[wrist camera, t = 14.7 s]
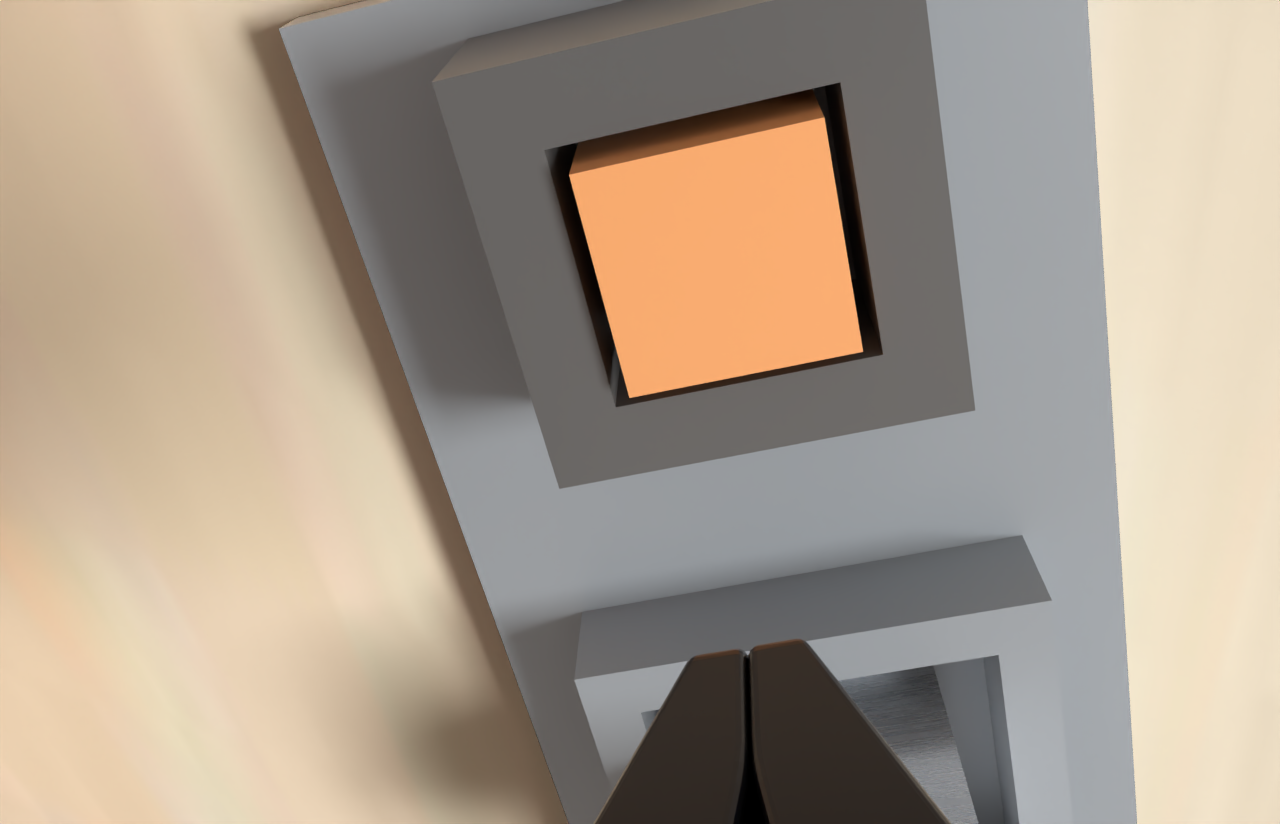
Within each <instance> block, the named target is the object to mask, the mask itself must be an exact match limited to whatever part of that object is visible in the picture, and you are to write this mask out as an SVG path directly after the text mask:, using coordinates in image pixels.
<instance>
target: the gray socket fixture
mask: <svg viewBox="0 0 1280 824" xmlns="http://www.w3.org/2000/svg"><path fill="white" fill-rule="evenodd" d="M279 31H280V34H281V36H282V39H283V42H284V45H285V47H286V50H287V53H288V56H289V58H290V61H291V64H292V67H293V69H294V72H295V75H296V78H297V80H298V83H299V86H300V89H301V91H302V94H303V97H304V99H305V102H306V105H307V108H308V110H309V113H310V116H311V119H312V121H313V124H314V127H315V130H316V132H317V135H318V138H319V141H320V143H321V146H322V149H323V152H324V154H325V157H326V160H327V162H328V165H329V168H330V171H331V173H332V176H333V179H334V182H335V184H336V187H337V190H338V193H339V195H340V198H341V201H342V204H343V206H344V209H345V212H346V215H347V217H348V220H349V223H350V225H351V228H352V231H353V234H354V236H355V239H356V242H357V245H358V247H359V250H360V253H361V256H362V258H363V261H364V264H365V267H366V269H367V272H368V275H369V278H370V280H371V283H372V286H373V289H374V291H375V294H376V297H377V299H378V302H379V305H380V308H381V310H382V313H383V316H384V319H385V321H386V324H387V327H388V330H389V332H390V335H391V338H392V341H393V343H394V346H395V349H396V352H397V354H398V357H399V360H400V362H401V365H402V368H403V371H404V373H405V376H406V379H407V382H408V384H409V387H410V390H411V393H412V395H413V398H414V401H415V404H416V406H417V409H418V412H419V415H420V417H421V420H422V423H423V425H424V428H425V431H426V434H427V436H428V439H429V442H430V445H431V447H432V450H433V453H434V456H435V458H436V461H437V464H438V467H439V469H440V472H441V475H442V478H443V480H444V483H445V486H446V488H447V491H448V494H449V497H450V499H451V502H452V505H453V508H454V510H455V513H456V516H457V519H458V521H459V524H460V527H461V530H462V532H463V535H464V538H465V541H466V543H467V546H468V549H469V551H470V554H471V557H472V560H473V562H474V565H475V568H476V571H477V573H478V576H479V579H480V582H481V584H482V587H483V590H484V593H485V595H486V598H487V601H488V604H489V606H490V609H491V612H492V614H493V617H494V620H495V623H496V625H497V628H498V631H499V634H500V636H501V639H502V642H503V645H504V647H505V650H506V653H507V656H508V658H509V661H510V664H511V667H512V669H513V672H514V675H515V677H516V680H517V683H518V686H519V688H520V691H521V694H522V697H523V699H524V702H525V705H526V708H527V710H528V713H529V716H530V719H531V721H532V724H533V727H534V730H535V732H536V735H537V738H538V740H539V743H540V746H541V749H542V751H543V754H544V757H545V760H546V762H547V765H548V768H549V771H550V773H551V776H552V779H553V782H554V784H555V787H556V790H557V793H558V795H559V798H560V801H561V803H562V806H563V809H564V812H565V814H566V817H567V820H568V823H569V824H593V823H594V821H595V820H596V818H597V816H598V815H599V813H600V811H601V809H602V808H603V806H604V804H605V803H606V801H607V799H608V797H609V796H610V794H611V792H612V790H613V789H614V787H615V785H616V784H617V782H618V780H619V778H620V777H621V775H622V773H623V771H624V770H625V768H626V766H627V765H628V763H629V761H630V759H631V758H632V756H633V754H634V752H635V751H636V749H637V747H638V746H639V744H640V742H641V740H642V739H643V737H644V735H645V733H646V732H647V730H648V728H649V727H650V725H651V723H652V721H653V720H654V718H655V716H656V715H657V713H658V711H659V709H660V708H661V706H662V704H663V702H664V701H665V699H666V697H667V696H668V694H669V692H670V690H671V689H672V687H673V685H674V683H675V682H676V680H677V678H678V677H679V675H680V673H681V671H682V670H683V668H684V666H685V664H686V663H687V661H688V660H690V659H691V658H692V657H693V656H696V655H700V654H706V653H712V652H718V651H724V650H730V649H742V650H744V651H745V652H746V653H747V655H749V652H750V650H751V649H752V648H753V647H754V646H756V645H760V644H766V643H772V642H778V641H785V640H791V639H802V640H804V641H806V642H807V643H808V644H809V645H810V646H811V647H812V648H813V650H814V651H815V652H816V654H817V655H818V656H819V657H820V659H821V660H822V661H823V662H824V664H825V665H826V666H827V667H828V669H829V670H830V671H831V672H832V674H833V675H834V676H835V677H836V679H837V680H838V681H839V680H845V679H852V678H858V677H864V676H870V675H876V674H883V673H889V672H895V671H901V670H908V669H914V668H920V667H926V666H932V665H933V667H934V670H935V674H936V677H937V681H938V684H939V688H940V691H941V694H942V698H943V701H944V705H945V708H946V712H947V715H948V719H949V722H950V726H951V729H952V733H953V736H954V740H955V743H956V747H957V750H958V754H959V757H960V761H961V764H962V768H963V771H964V775H965V778H966V782H967V785H968V789H969V792H970V796H971V799H972V803H973V806H974V810H975V813H976V817H977V820H978V824H1137V814H1136V798H1135V781H1134V765H1133V748H1132V731H1131V715H1130V698H1129V682H1128V665H1127V649H1126V632H1125V615H1124V599H1123V582H1122V566H1121V549H1120V533H1119V516H1118V499H1117V483H1116V466H1115V450H1114V433H1113V417H1112V400H1111V383H1110V367H1109V350H1108V334H1107V317H1106V301H1105V284H1104V267H1103V251H1102V234H1101V218H1100V201H1099V185H1098V168H1097V151H1096V135H1095V118H1094V102H1093V85H1092V68H1091V52H1090V35H1089V19H1088V2H1087V0H364V1H360V2H356V3H352V4H348V5H344V6H341V7H337V8H333V9H329V10H325V11H321V12H317V13H313V14H309V15H305V16H301V17H297V18H295V19H294V20H292V21H291V22H289V23H287V24H286V25H284V26H282V27H281V28H279ZM809 89H812V90H813V92H814V94H815V97H816V99H817V101H818V104H819V106H820V108H821V111H822V113H823V115H824V118H825V124H826V130H827V136H828V142H829V148H830V154H831V160H832V166H833V172H834V178H835V184H836V191H837V197H838V203H839V209H840V215H841V221H842V227H843V233H844V239H845V245H846V251H847V257H848V263H849V269H850V275H851V281H852V287H853V293H854V299H855V305H856V311H857V317H858V324H859V330H860V336H861V342H862V348H863V352H860V353H855V354H849V355H844V356H839V357H834V358H829V359H824V360H819V361H814V362H809V363H804V364H799V365H794V366H789V367H784V368H779V369H774V370H769V371H764V372H758V373H753V374H748V375H743V376H738V377H733V378H728V379H723V380H718V381H713V382H708V383H703V384H698V385H693V386H688V387H683V388H678V389H673V390H667V391H662V392H657V393H652V394H647V395H642V396H637V397H632V398H629V394H628V391H627V387H626V383H625V380H624V376H623V372H622V369H621V365H620V361H619V358H618V354H617V350H616V346H615V343H614V339H613V335H612V332H611V328H610V324H609V321H608V317H607V313H606V310H605V306H604V302H603V298H602V295H601V291H600V287H599V284H598V280H597V276H596V273H595V269H594V265H593V262H592V258H591V254H590V250H589V247H588V243H587V239H586V236H585V232H584V228H583V225H582V221H581V217H580V214H579V210H578V206H577V202H576V199H575V195H574V191H573V188H572V184H571V180H570V177H569V173H570V170H571V166H572V163H573V159H574V156H575V152H576V149H577V145H578V142H581V141H586V140H590V139H595V138H599V137H603V136H608V135H612V134H616V133H621V132H625V131H630V130H634V129H638V128H643V127H647V126H651V125H656V124H660V123H664V122H669V121H673V120H678V119H682V118H686V117H691V116H695V115H699V114H704V113H708V112H713V111H717V110H721V109H726V108H730V107H734V106H739V105H743V104H747V103H752V102H756V101H761V100H765V99H769V98H774V97H778V96H782V95H787V94H791V93H796V92H800V91H804V90H809Z"/></svg>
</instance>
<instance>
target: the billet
mask: <svg viewBox="0 0 1280 824" xmlns="http://www.w3.org/2000/svg"><path fill="white" fill-rule="evenodd" d="M839 682H840V684H841V685H842V686H843V687H844V689H845V690H846V691H847V692H848V694H849V695H850V696H851V698H852V699H853V700H854V701H855V703H856V704H857V705H858V706H859V708H860V709H861V710H862V711H863V713H864V714H865V715H866V716H867V718H868V719H869V720H870V721H871V723H872V724H873V725H874V726H875V728H876V729H877V730H878V731H879V733H880V734H881V735H882V736H883V738H884V739H885V740H886V742H887V743H888V744H889V745H890V747H891V748H892V749H893V750H894V752H895V753H896V754H897V755H898V757H899V758H900V759H901V760H902V762H903V763H904V764H905V765H906V767H907V768H908V769H909V770H910V772H911V773H912V774H913V775H914V777H915V778H916V779H917V780H918V782H919V783H920V784H921V786H922V787H923V788H924V789H925V791H926V792H927V793H928V794H929V796H930V797H931V798H932V799H933V801H934V802H935V803H936V804H937V806H938V807H939V808H940V809H941V811H942V812H943V813H944V814H945V816H946V817H947V818H948V819H949V821H950V822H951V823H952V824H978V820H977V817H976V813H975V810H974V806H973V803H972V799H971V796H970V792H969V789H968V785H967V782H966V778H965V775H964V771H963V768H962V764H961V761H960V757H959V754H958V750H957V747H956V743H955V740H954V736H953V733H952V729H951V726H950V722H949V719H948V715H947V712H946V708H945V705H944V701H943V698H942V694H941V691H940V688H939V684H938V681H937V677H936V674H935V670H934V667H933V665H932V666H926V667H920V668H914V669H908V670H901V671H895V672H889V673H883V674H876V675H870V676H864V677H858V678H852V679H845V680H839Z"/></svg>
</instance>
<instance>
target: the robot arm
mask: <svg viewBox="0 0 1280 824" xmlns="http://www.w3.org/2000/svg"><path fill="white" fill-rule="evenodd" d="M593 824H952V823H951V822H950V821H949V819H948V818H947V817H946V816H945V814H944V813H943V812H942V811H941V809H940V808H939V807H938V806H937V804H936V803H935V802H934V801H933V799H932V798H931V797H930V796H929V794H928V793H927V792H926V791H925V789H924V788H923V787H922V786H921V784H920V783H919V782H918V780H917V779H916V778H915V777H914V775H913V774H912V773H911V772H910V770H909V769H908V768H907V767H906V765H905V764H904V763H903V762H902V760H901V759H900V758H899V757H898V755H897V754H896V753H895V752H894V750H893V749H892V748H891V747H890V745H889V744H888V743H887V742H886V740H885V739H884V738H883V736H882V735H881V734H880V733H879V731H878V730H877V729H876V728H875V726H874V725H873V724H872V723H871V721H870V720H869V719H868V718H867V716H866V715H865V714H864V713H863V711H862V710H861V709H860V708H859V706H858V705H857V704H856V703H855V701H854V700H853V699H852V698H851V696H850V695H849V694H848V692H847V691H846V690H845V689H844V687H843V686H842V685H841V684H840V682H839V681H838V680H837V679H836V677H835V676H834V675H833V674H832V672H831V671H830V670H829V669H828V667H827V666H826V665H825V664H824V662H823V661H822V660H821V659H820V657H819V656H818V655H817V654H816V652H815V651H814V650H813V648H812V647H811V646H810V645H809V644H808V643H807V642H806V641H804V640H802V639H791V640H785V641H778V642H772V643H766V644H760V645H756V646H754V647H753V648H752V649H751V650H750V652H749V655H747V653H746V652H745V651H744V650H742V649H730V650H724V651H718V652H712V653H706V654H700V655H696V656H693V657H692V658H691V659H690V660H688V661H687V663H686V664H685V666H684V668H683V670H682V671H681V673H680V675H679V677H678V678H677V680H676V682H675V683H674V685H673V687H672V689H671V690H670V692H669V694H668V696H667V697H666V699H665V701H664V702H663V704H662V706H661V708H660V709H659V711H658V713H657V715H656V716H655V718H654V720H653V721H652V723H651V725H650V727H649V728H648V730H647V732H646V733H645V735H644V737H643V739H642V740H641V742H640V744H639V746H638V747H637V749H636V751H635V752H634V754H633V756H632V758H631V759H630V761H629V763H628V765H627V766H626V768H625V770H624V771H623V773H622V775H621V777H620V778H619V780H618V782H617V784H616V785H615V787H614V789H613V790H612V792H611V794H610V796H609V797H608V799H607V801H606V803H605V804H604V806H603V808H602V809H601V811H600V813H599V815H598V816H597V818H596V820H595V821H594V823H593Z"/></svg>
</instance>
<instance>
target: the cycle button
mask: <svg viewBox="0 0 1280 824" xmlns="http://www.w3.org/2000/svg"><path fill="white" fill-rule="evenodd" d="M569 177H570V180H571V184H572V188H573V191H574V195H575V199H576V202H577V206H578V210H579V214H580V217H581V221H582V225H583V228H584V232H585V236H586V239H587V243H588V247H589V250H590V254H591V258H592V262H593V265H594V269H595V273H596V276H597V280H598V284H599V287H600V291H601V295H602V298H603V302H604V306H605V310H606V313H607V317H608V321H609V324H610V328H611V332H612V335H613V339H614V343H615V346H616V350H617V354H618V358H619V361H620V365H621V369H622V372H623V376H624V380H625V383H626V387H627V391H628V394H629V398H632V397H637V396H642V395H647V394H652V393H657V392H662V391H667V390H673V389H678V388H683V387H688V386H693V385H698V384H703V383H708V382H713V381H718V380H723V379H728V378H733V377H738V376H743V375H748V374H753V373H758V372H764V371H769V370H774V369H779V368H784V367H789V366H794V365H799V364H804V363H809V362H814V361H819V360H824V359H829V358H834V357H839V356H844V355H849V354H855V353H860V352H863V348H862V342H861V336H860V330H859V324H858V317H857V311H856V305H855V299H854V293H853V287H852V281H851V275H850V269H849V263H848V257H847V251H846V245H845V239H844V233H843V227H842V221H841V215H840V209H839V203H838V197H837V191H836V184H835V178H834V172H833V166H832V160H831V154H830V148H829V142H828V136H827V130H826V124H825V118H824V115H823V113H822V111H821V108H820V106H819V104H818V101H817V99H816V97H815V94H814V92H813V90H812V89H809V90H804V91H800V92H796V93H791V94H787V95H782V96H778V97H774V98H769V99H765V100H761V101H756V102H752V103H747V104H743V105H739V106H734V107H730V108H726V109H721V110H717V111H713V112H708V113H704V114H699V115H695V116H691V117H686V118H682V119H678V120H673V121H669V122H664V123H660V124H656V125H651V126H647V127H643V128H638V129H634V130H630V131H625V132H621V133H616V134H612V135H608V136H603V137H599V138H595V139H590V140H586V141H581V142H578V145H577V149H576V152H575V156H574V159H573V163H572V166H571V170H570V173H569Z"/></svg>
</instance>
